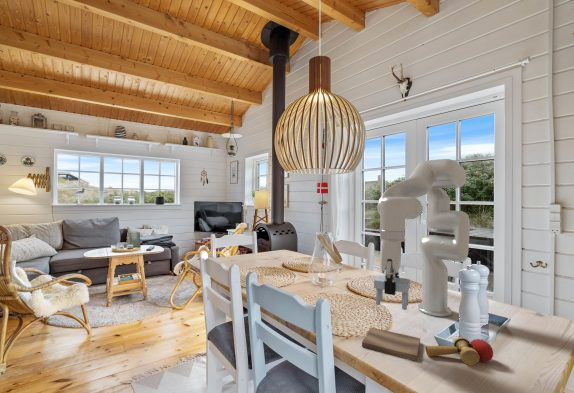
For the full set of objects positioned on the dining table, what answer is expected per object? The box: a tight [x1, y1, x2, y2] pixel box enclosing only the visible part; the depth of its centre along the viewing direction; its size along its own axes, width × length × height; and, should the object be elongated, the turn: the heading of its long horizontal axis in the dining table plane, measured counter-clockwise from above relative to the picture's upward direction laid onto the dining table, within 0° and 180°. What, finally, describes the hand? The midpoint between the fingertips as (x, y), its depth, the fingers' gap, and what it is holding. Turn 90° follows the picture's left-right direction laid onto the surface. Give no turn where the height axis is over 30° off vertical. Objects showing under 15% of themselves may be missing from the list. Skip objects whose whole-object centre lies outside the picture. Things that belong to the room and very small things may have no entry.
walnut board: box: [361, 326, 421, 362], centre depth 94 cm, size 12×16×2 cm
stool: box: [373, 274, 411, 311], centre depth 94 cm, size 10×7×8 cm
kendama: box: [425, 336, 494, 366], centre depth 86 cm, size 8×6×18 cm
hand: (392, 290), depth 94 cm, fingers closed on stool, 7 cm apart
